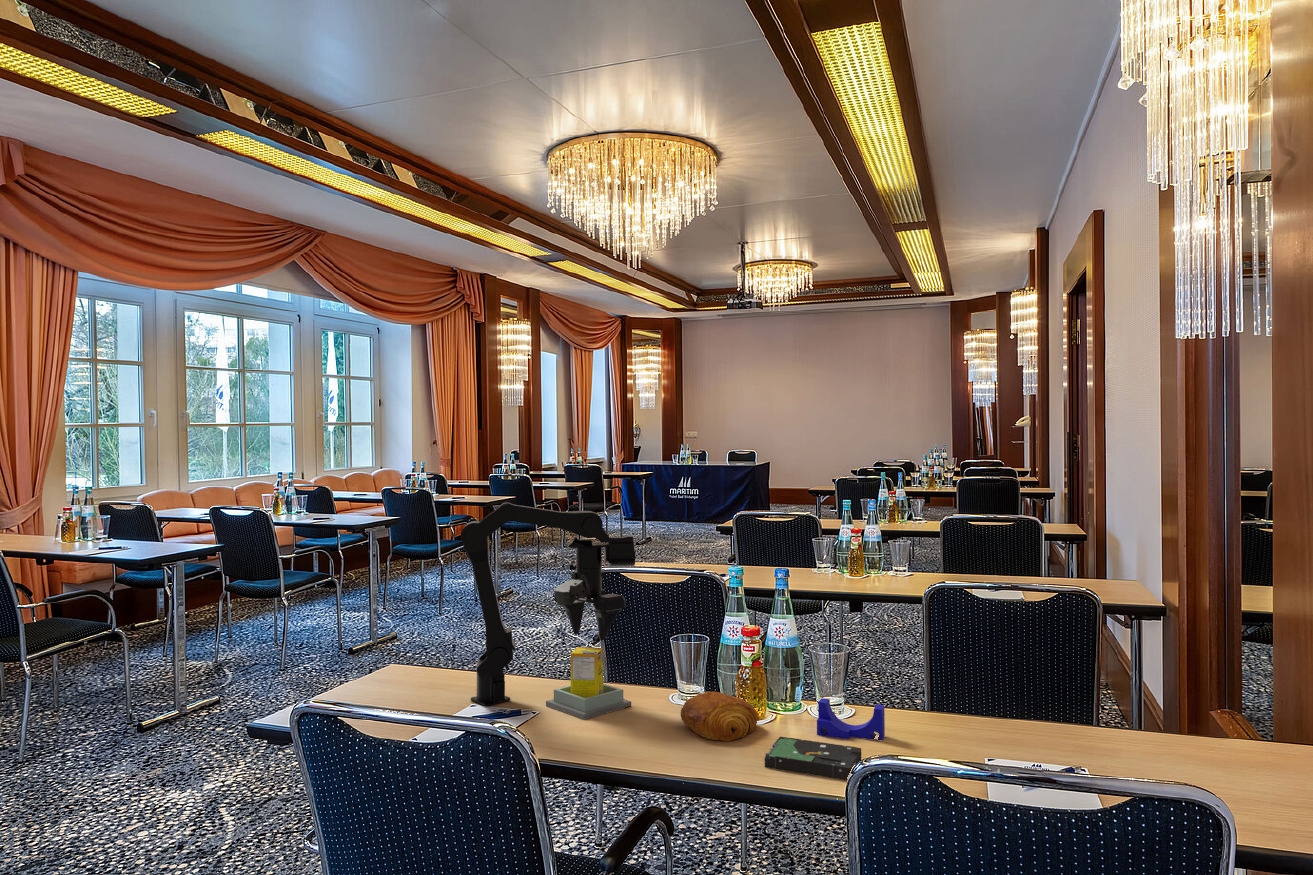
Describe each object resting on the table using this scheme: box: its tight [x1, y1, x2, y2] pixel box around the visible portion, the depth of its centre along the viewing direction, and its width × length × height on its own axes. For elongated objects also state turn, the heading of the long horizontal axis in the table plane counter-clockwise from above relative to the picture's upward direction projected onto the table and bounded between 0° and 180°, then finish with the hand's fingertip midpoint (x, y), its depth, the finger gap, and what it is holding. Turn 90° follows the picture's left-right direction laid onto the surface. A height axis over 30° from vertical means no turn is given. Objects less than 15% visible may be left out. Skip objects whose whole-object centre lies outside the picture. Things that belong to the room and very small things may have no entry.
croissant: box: [680, 690, 760, 742], centre depth 159 cm, size 14×16×8 cm
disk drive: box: [763, 736, 862, 781], centre depth 141 cm, size 10×3×15 cm
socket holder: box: [545, 683, 632, 720], centre depth 174 cm, size 13×13×4 cm
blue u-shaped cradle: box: [816, 697, 886, 741], centre depth 155 cm, size 12×4×6 cm, turn 67°
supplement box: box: [570, 646, 604, 698], centre depth 174 cm, size 6×6×11 cm
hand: (589, 637), depth 182 cm, fingers open, 9 cm apart
